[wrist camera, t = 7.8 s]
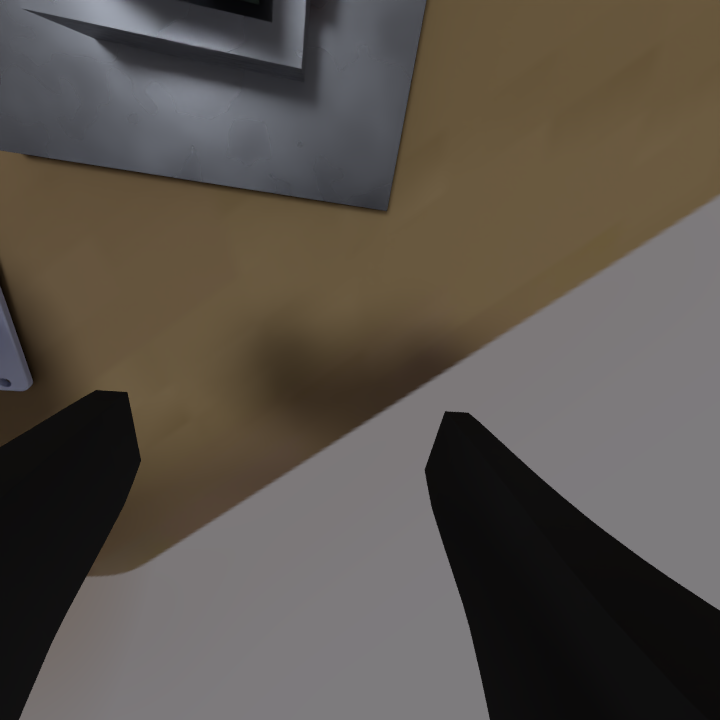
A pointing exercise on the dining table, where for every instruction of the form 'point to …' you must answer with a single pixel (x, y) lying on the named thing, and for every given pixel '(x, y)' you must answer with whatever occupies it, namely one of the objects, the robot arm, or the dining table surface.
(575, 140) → the dining table surface
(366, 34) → the stand base
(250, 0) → the stand column
